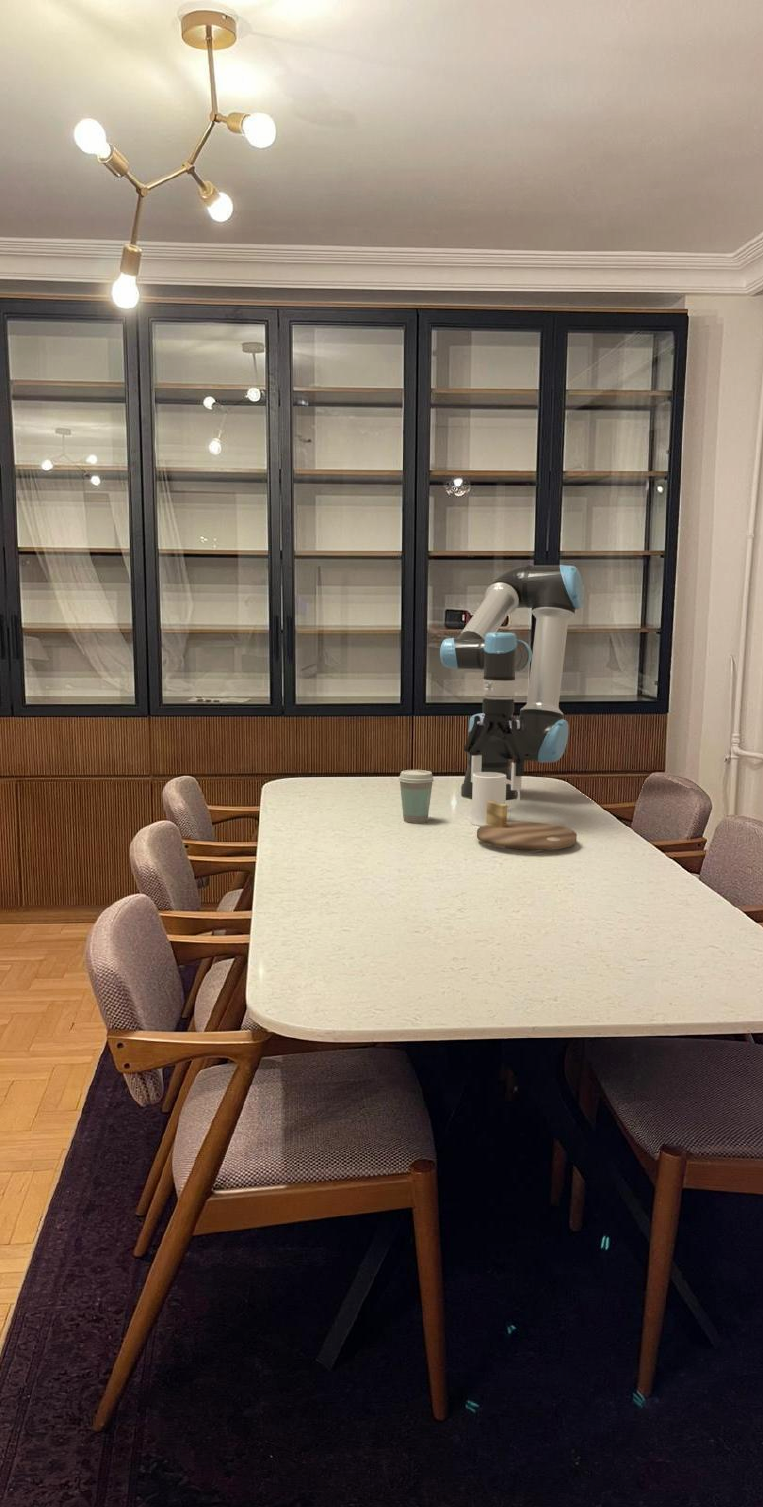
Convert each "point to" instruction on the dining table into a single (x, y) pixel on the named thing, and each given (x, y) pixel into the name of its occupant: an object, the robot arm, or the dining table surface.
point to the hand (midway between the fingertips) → (495, 785)
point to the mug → (488, 794)
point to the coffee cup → (416, 794)
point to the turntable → (522, 832)
